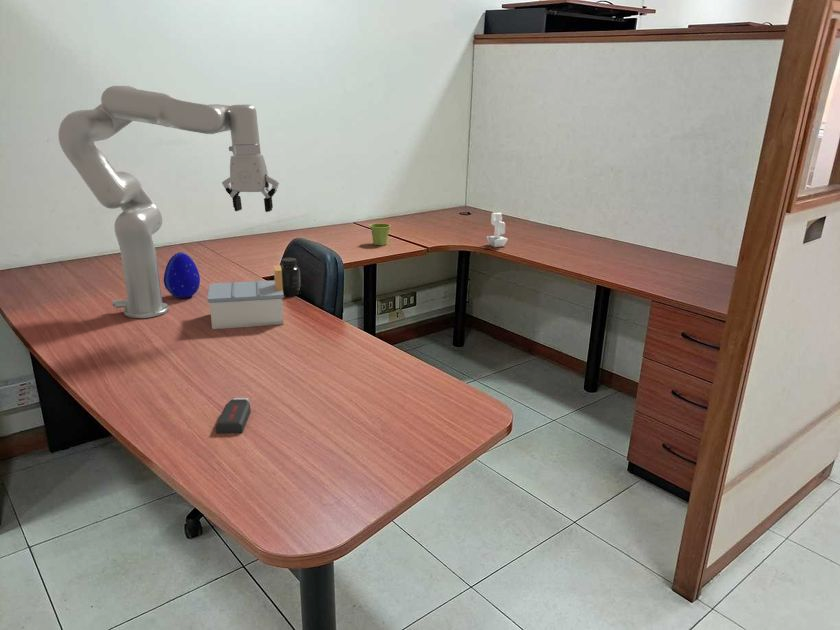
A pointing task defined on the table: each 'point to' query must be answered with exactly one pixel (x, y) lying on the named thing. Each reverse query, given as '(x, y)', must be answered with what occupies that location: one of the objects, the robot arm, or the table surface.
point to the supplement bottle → (290, 277)
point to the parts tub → (246, 313)
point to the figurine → (497, 231)
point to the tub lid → (247, 289)
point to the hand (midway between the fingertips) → (253, 210)
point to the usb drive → (234, 416)
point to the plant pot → (380, 233)
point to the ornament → (181, 276)
